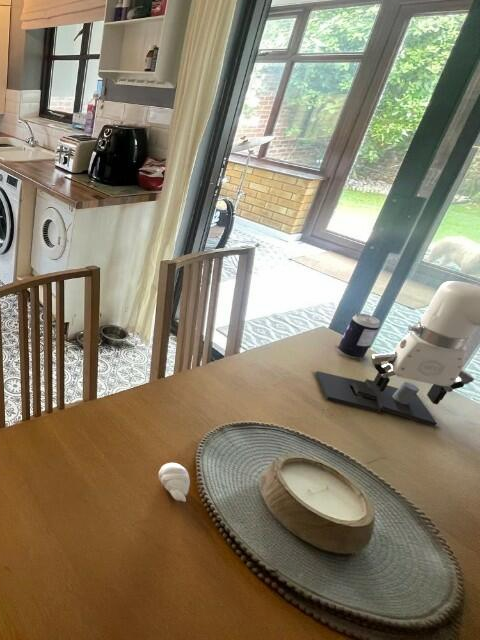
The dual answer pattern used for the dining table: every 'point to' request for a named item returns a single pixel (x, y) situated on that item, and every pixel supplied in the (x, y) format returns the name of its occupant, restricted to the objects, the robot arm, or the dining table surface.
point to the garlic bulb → (175, 480)
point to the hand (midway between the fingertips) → (404, 393)
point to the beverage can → (359, 335)
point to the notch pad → (344, 391)
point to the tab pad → (394, 405)
